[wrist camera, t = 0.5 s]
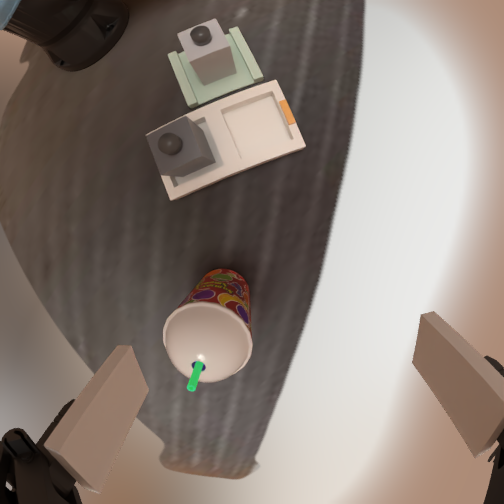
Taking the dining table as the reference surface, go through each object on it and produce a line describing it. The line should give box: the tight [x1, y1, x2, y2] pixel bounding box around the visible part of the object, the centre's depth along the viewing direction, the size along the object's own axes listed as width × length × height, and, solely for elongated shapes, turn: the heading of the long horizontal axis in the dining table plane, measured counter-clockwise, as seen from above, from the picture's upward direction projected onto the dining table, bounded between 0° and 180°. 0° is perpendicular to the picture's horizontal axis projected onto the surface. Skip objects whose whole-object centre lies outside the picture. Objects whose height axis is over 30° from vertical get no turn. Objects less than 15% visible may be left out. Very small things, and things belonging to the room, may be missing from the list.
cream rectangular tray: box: [146, 80, 306, 201], centre depth 28 cm, size 9×17×10 cm, turn 112°
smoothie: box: [163, 269, 253, 391], centre depth 28 cm, size 8×8×20 cm
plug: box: [177, 19, 237, 86], centre depth 25 cm, size 4×4×10 cm
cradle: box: [168, 27, 263, 109], centre depth 29 cm, size 9×10×2 cm
